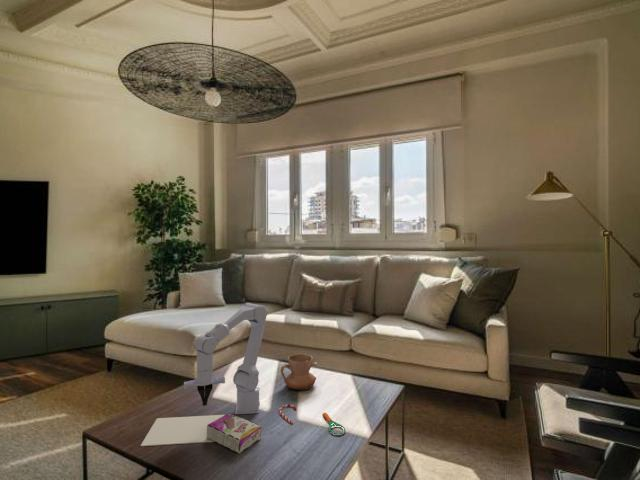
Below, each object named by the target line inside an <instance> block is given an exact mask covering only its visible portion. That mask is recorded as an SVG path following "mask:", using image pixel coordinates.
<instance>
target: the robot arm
mask: <svg viewBox="0 0 640 480" xmlns="http://www.w3.org/2000/svg"><path fill="white" fill-rule="evenodd" d="M267 316H268V310H267V308H266V306H264V305H262V304H256V303H255V304H254V303H251V302H244V303H243V304H242V305H241V306H240V307H239V310H237V311H236V312H235V313H234V314H233V315H232V316H231V317H230V318H228V319H227V321H225V322H224V323H216V324H215V326H214V327H213V328H212V329H211V330H209V331H207V332H206V333H205V334H204V335H200V336H198V337H197V338H196V339H195V341H194V343H193V344H192V346H193V349H194V350H195V355H196V379H193V380H188V381H183V390H187V389H188V388H189V389H190V388H197V392H198V394H199V396H200V398H201V401H202V406H203V407H204V406H207V405H208V400H209V397H210V395H211V393H212V391H213V385H217V384H218V385H219V384H222V385H223V384H226V378H225V376H213V374H214V373H213V372H214V368H213V367H214V352H215V351H216V349H217V346H218V345H219V343H221V342H222V341H223V340H225V338H227V337H228V336H229V335H230V331H231V330H233V328H235V327H236V326H238V325H239V324H241V323H242V322H244V321H246V320H247V321H248V322H249V323H250V325H251V328H250V329H251V330H250V333H249V336H248V337H249V338H248V342H247V345H246V350H245V353H244V356H243V357H244V358H243V361H242V363H241V364H240V365H238V366H237V368H236V372H235V373H234V374H233V377H232V378H233V379H232V381H233V383H234V385H235V388H236V405H235V406H236V407H235V411H234V415H246V414H247V415H248V414H250V415H252V414H259V411H260V406H261V405H260V404H261V402H260V387H258V385H259V381H260V380H259V374H260V371H259V370H258V368H257V366H256V365H257V361H258V357H259V353H260V349H261V345H262V341H263V336H264V334H265V333H264V332H265V328H266V324H267V323H266V319H267Z"/></svg>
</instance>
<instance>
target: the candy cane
mask: <svg viewBox="0 0 640 480" xmlns="http://www.w3.org/2000/svg"><path fill="white" fill-rule="evenodd" d="M292 407H293V408H292ZM283 408H284V409H285V408H292V409H293V410H294V411H297V407H296V406H295V405H294V404H283V405H281V406H280V407H279V409H278V414H279V416H280V415H281V416H280V417H281V418H282V419H283V420H284V421H285V420H286V421H285V422H287V423H288V424H289V423H290V425H291V424H292V425H293V424H294V422H293V421H292V420H290V419H289V418H288V417H287V416H286V414H284V413H283V411H282V410H284V409H283Z"/></svg>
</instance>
